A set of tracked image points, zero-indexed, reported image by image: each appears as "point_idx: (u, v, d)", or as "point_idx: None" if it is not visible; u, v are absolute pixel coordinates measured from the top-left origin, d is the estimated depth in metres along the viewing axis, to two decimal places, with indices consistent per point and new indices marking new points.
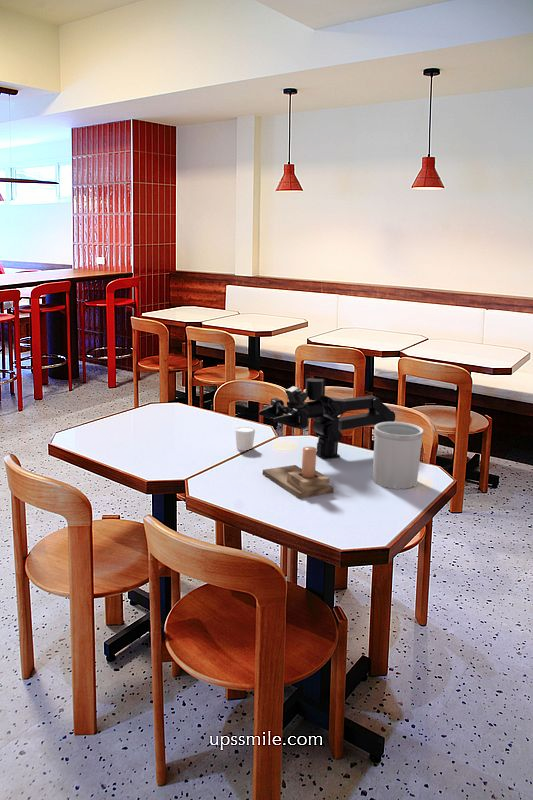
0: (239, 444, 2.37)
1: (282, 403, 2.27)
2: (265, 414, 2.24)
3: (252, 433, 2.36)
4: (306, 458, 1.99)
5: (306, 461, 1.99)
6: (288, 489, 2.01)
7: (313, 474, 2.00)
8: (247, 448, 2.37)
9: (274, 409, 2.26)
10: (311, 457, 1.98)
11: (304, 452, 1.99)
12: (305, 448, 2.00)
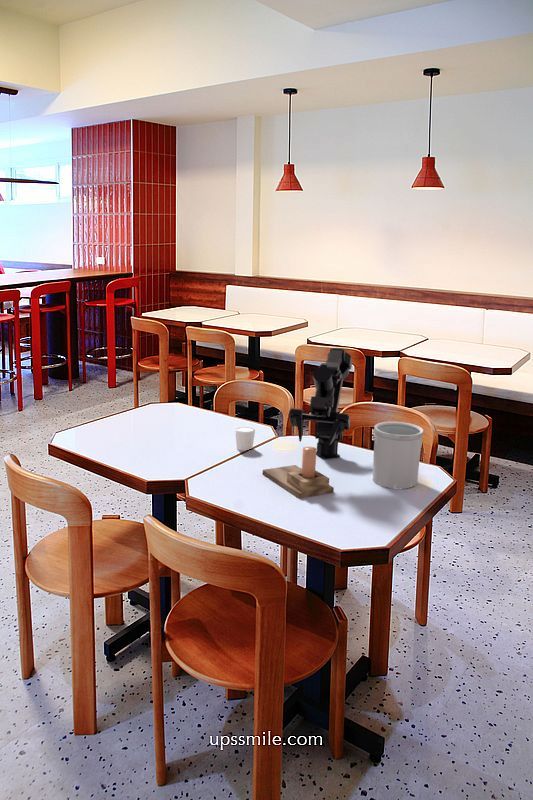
0: (239, 444, 2.37)
1: (302, 411, 2.12)
2: (301, 435, 2.10)
3: (252, 433, 2.36)
4: (306, 458, 1.99)
5: (306, 461, 1.99)
6: (288, 489, 2.01)
7: (313, 474, 2.00)
8: (247, 448, 2.37)
9: (302, 423, 2.11)
10: (311, 457, 1.98)
11: (304, 452, 1.99)
12: (305, 448, 2.00)
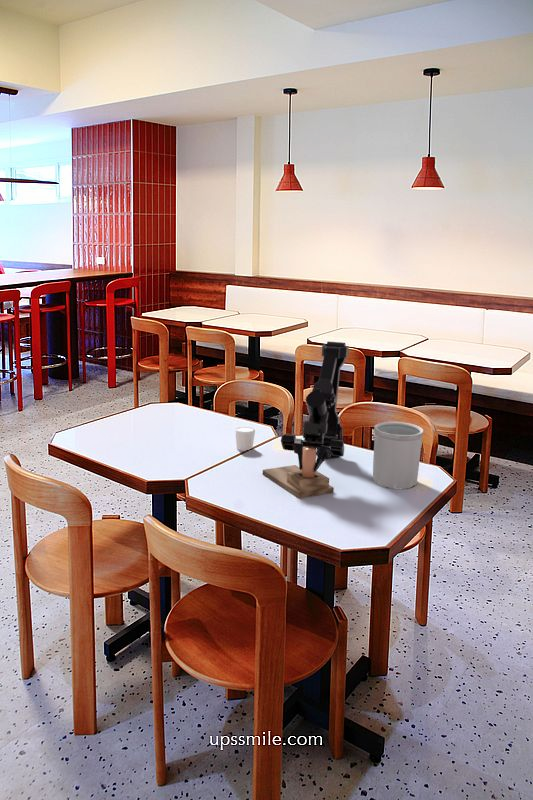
0: (239, 444, 2.37)
1: (294, 437, 2.04)
2: None
3: (252, 433, 2.36)
4: (306, 458, 1.99)
5: (306, 461, 1.99)
6: (288, 489, 2.01)
7: (313, 474, 2.00)
8: (247, 448, 2.37)
9: (302, 450, 2.03)
10: (311, 457, 1.98)
11: (304, 452, 1.99)
12: (305, 448, 2.00)
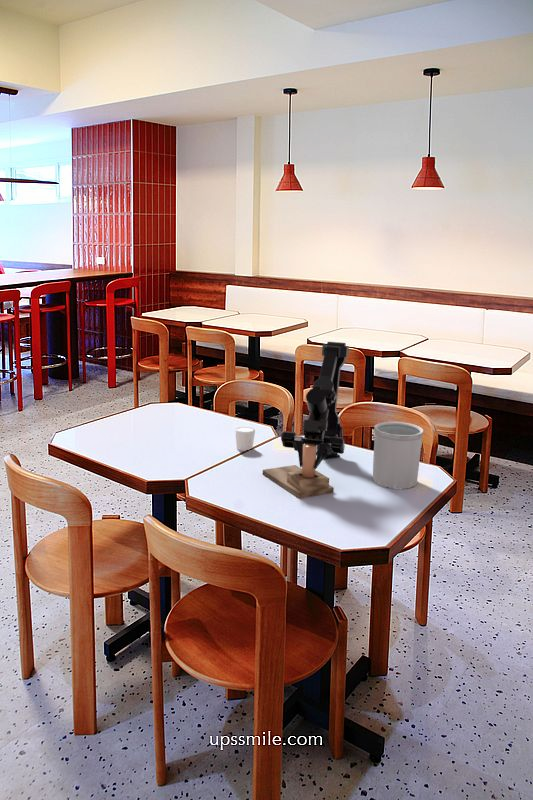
0: (239, 444, 2.37)
1: (295, 434, 2.04)
2: None
3: (252, 433, 2.36)
4: (306, 455, 1.98)
5: (306, 458, 1.99)
6: (288, 489, 2.01)
7: (313, 471, 2.00)
8: (247, 448, 2.37)
9: (302, 447, 2.03)
10: (311, 454, 1.98)
11: (304, 449, 1.99)
12: (305, 445, 2.00)
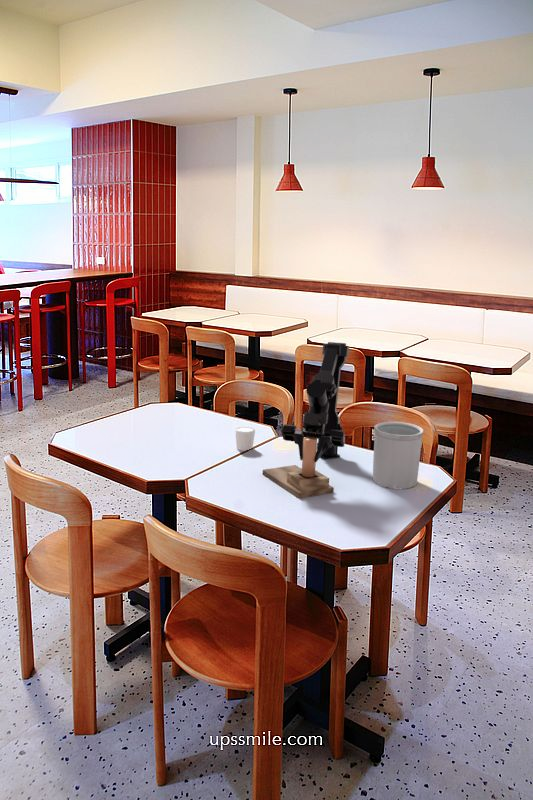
0: (239, 444, 2.37)
1: (295, 427, 2.04)
2: (302, 453, 2.01)
3: (252, 433, 2.36)
4: (307, 449, 1.98)
5: (306, 451, 1.98)
6: (288, 489, 2.01)
7: (314, 465, 1.99)
8: (247, 448, 2.37)
9: None
10: (312, 448, 1.98)
11: (305, 442, 1.98)
12: (306, 438, 1.99)
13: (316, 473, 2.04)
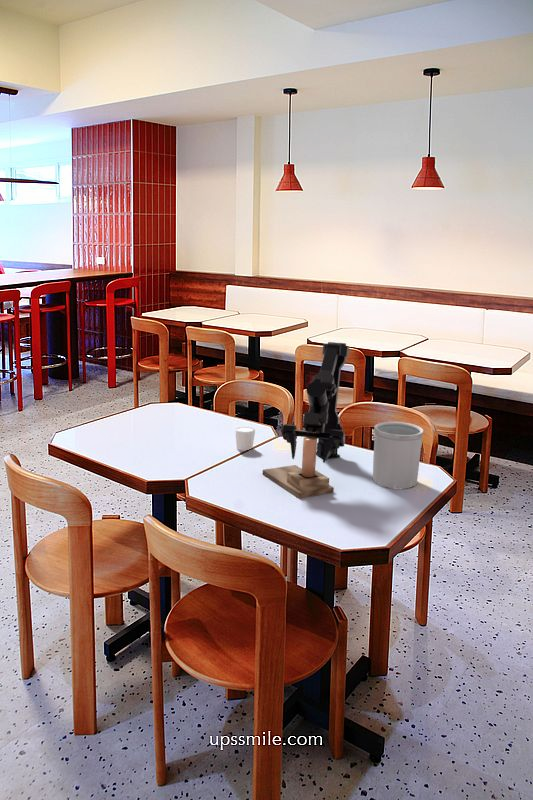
0: (239, 444, 2.37)
1: (295, 427, 2.04)
2: None
3: (252, 433, 2.36)
4: (307, 449, 1.98)
5: (306, 451, 1.98)
6: (288, 489, 2.01)
7: (314, 465, 1.99)
8: (247, 448, 2.37)
9: (295, 439, 2.03)
10: (312, 448, 1.98)
11: (305, 442, 1.98)
12: (306, 438, 1.99)
13: (316, 473, 2.04)
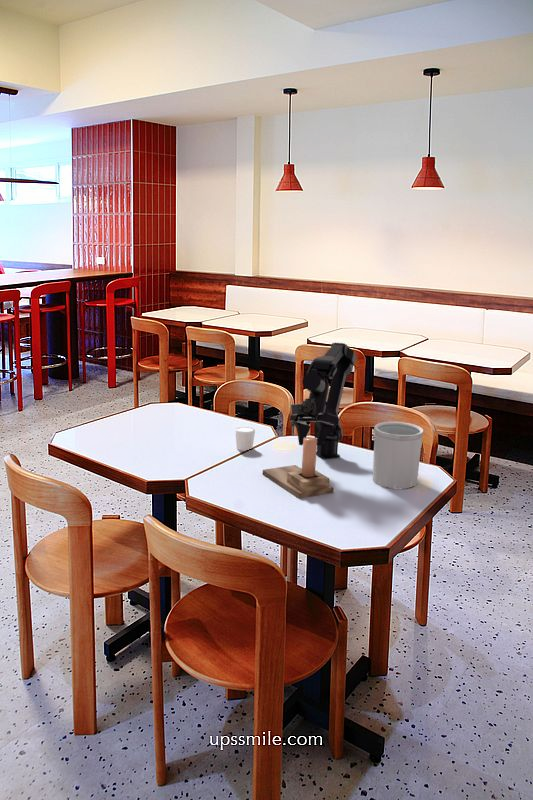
0: (239, 444, 2.37)
1: (299, 415, 2.18)
2: (303, 438, 2.18)
3: (252, 433, 2.36)
4: (307, 449, 1.98)
5: (306, 451, 1.98)
6: (288, 489, 2.01)
7: (314, 465, 1.99)
8: (247, 448, 2.37)
9: (302, 426, 2.18)
10: (312, 448, 1.98)
11: (305, 442, 1.98)
12: (306, 438, 1.99)
13: (316, 473, 2.04)
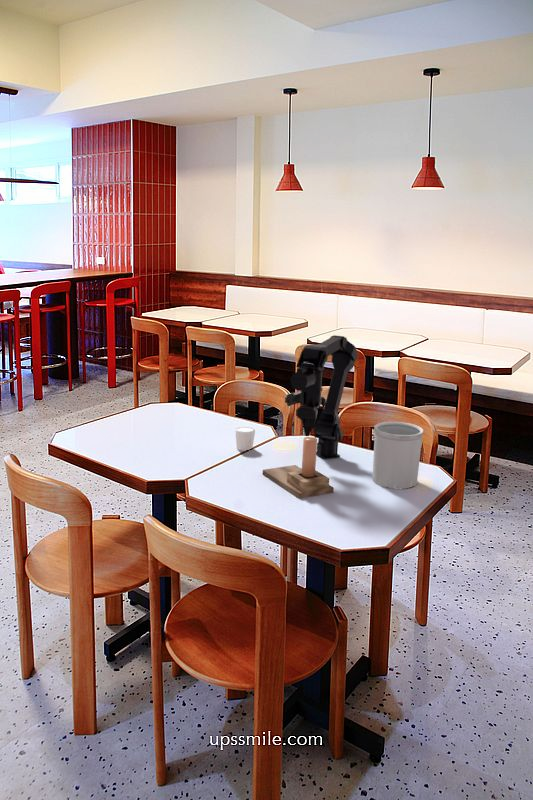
0: (239, 444, 2.37)
1: None
2: (315, 422, 2.23)
3: (252, 433, 2.36)
4: (307, 449, 1.98)
5: (306, 451, 1.98)
6: (288, 489, 2.01)
7: (314, 465, 1.99)
8: (247, 448, 2.37)
9: None
10: (312, 448, 1.98)
11: (305, 442, 1.98)
12: (306, 438, 1.99)
13: (316, 473, 2.04)
